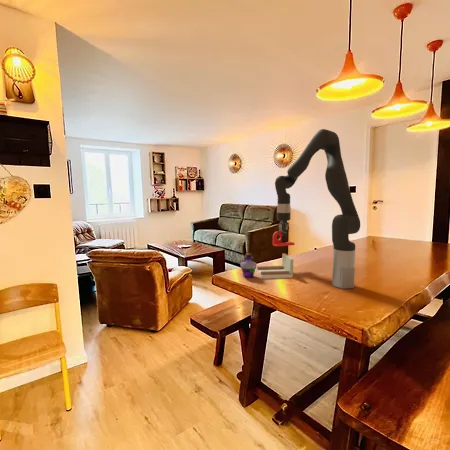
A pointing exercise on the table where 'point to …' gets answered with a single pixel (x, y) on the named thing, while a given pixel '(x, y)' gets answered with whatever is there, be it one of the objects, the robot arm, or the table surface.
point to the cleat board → (277, 269)
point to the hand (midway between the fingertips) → (283, 241)
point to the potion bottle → (248, 266)
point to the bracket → (280, 240)
